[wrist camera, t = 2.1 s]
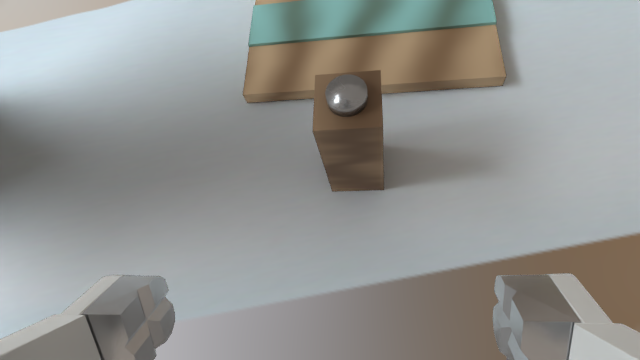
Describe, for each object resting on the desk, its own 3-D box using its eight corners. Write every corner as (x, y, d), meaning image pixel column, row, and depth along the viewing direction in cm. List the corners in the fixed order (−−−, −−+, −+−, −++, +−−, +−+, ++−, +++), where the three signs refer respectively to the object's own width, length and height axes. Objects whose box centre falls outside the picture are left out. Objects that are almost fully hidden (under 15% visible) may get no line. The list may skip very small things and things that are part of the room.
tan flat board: (247, 102, 36) (241, 92, 34) (262, -14, 42) (258, -27, 40) (502, 85, 32) (507, 73, 31) (477, -39, 38) (481, -53, 37)
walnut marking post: (332, 191, 31) (310, 123, 22) (333, 146, 32) (312, 66, 23) (383, 189, 30) (382, 119, 21) (381, 144, 32) (380, 60, 23)
